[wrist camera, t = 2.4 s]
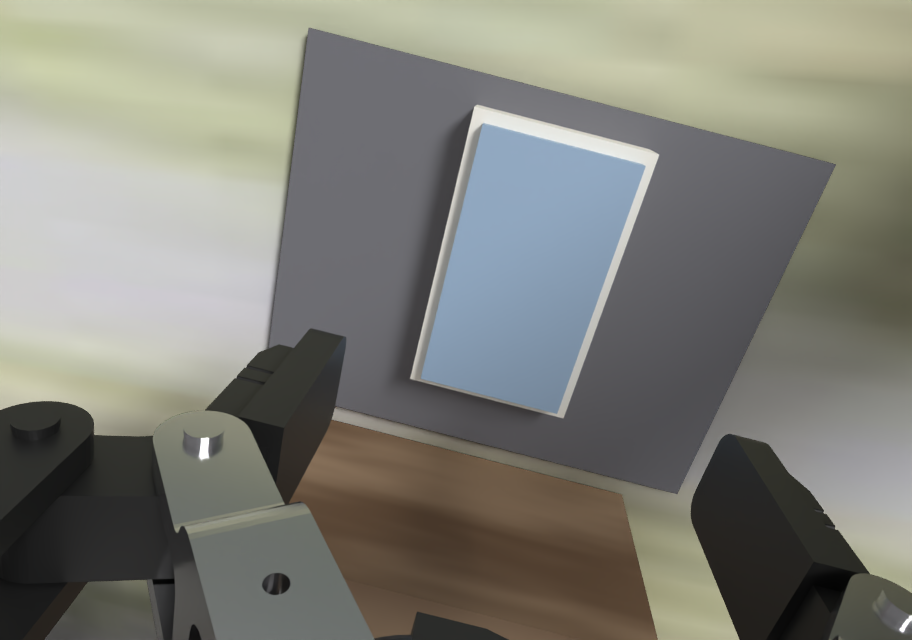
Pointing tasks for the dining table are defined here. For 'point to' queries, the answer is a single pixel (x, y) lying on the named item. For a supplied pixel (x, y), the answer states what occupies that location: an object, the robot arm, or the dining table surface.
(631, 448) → the mat
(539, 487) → the walnut block
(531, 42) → the dining table surface
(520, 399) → the card box
